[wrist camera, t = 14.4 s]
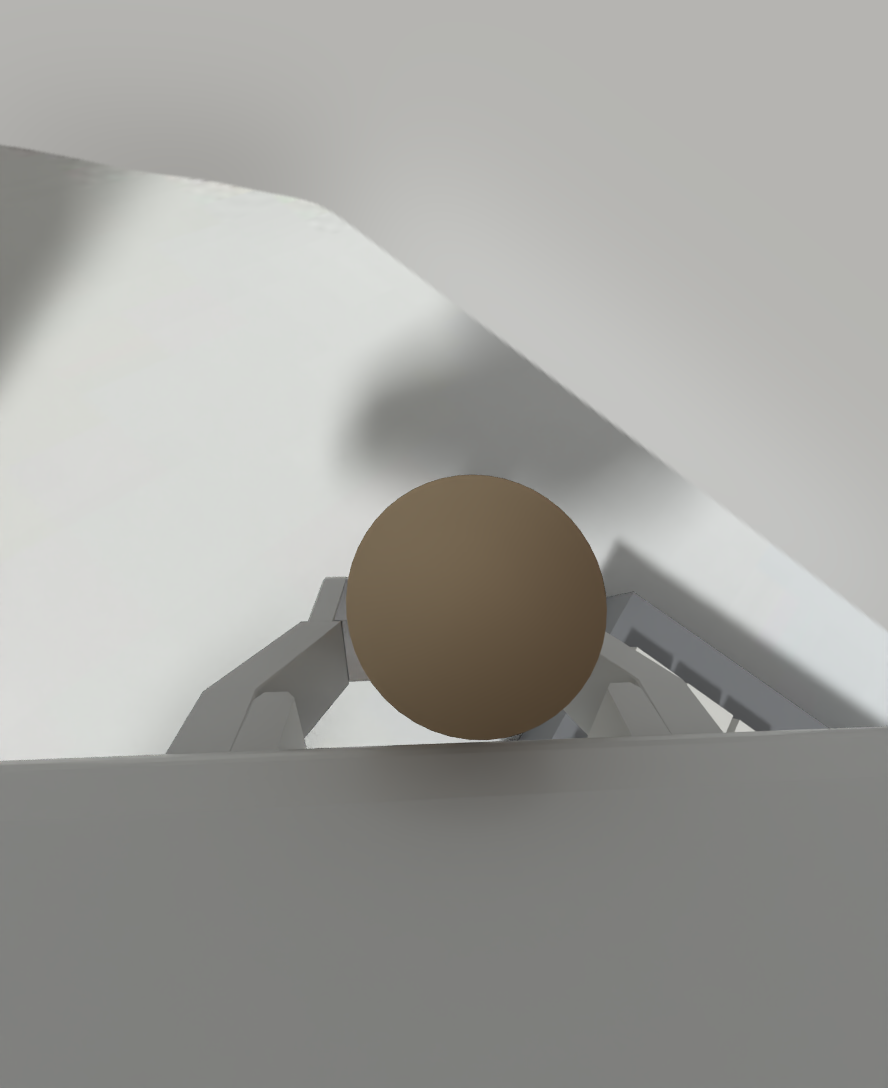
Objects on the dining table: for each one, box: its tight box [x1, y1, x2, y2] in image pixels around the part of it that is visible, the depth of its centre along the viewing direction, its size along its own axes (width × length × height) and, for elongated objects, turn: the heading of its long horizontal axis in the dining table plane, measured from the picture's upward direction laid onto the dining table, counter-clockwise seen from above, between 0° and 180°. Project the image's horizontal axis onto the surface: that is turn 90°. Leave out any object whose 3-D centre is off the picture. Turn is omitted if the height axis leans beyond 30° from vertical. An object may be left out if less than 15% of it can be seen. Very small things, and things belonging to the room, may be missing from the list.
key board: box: [519, 592, 830, 741], centre depth 16 cm, size 18×12×4 cm, turn 54°
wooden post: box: [346, 475, 607, 740], centre depth 10 cm, size 5×5×13 cm
